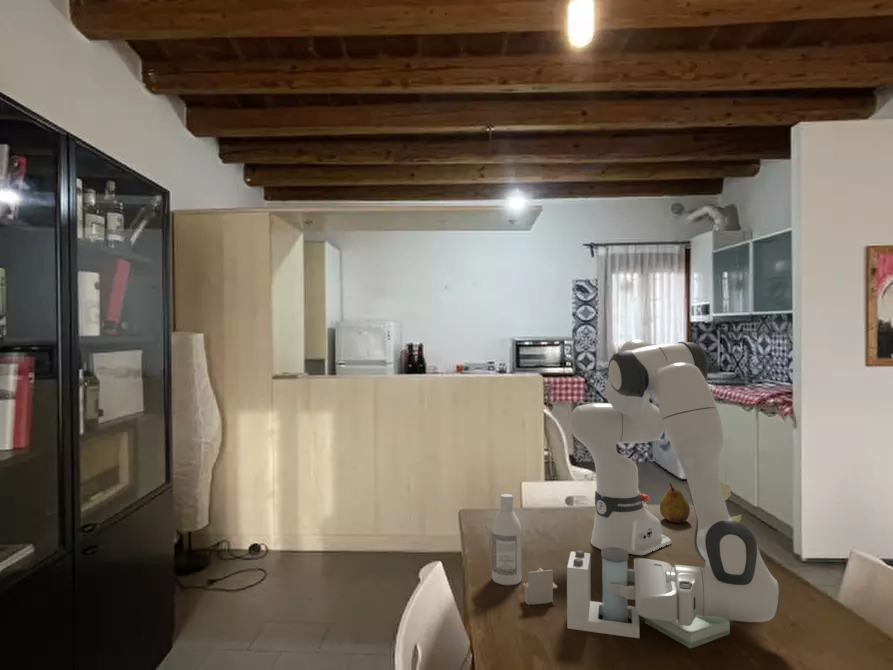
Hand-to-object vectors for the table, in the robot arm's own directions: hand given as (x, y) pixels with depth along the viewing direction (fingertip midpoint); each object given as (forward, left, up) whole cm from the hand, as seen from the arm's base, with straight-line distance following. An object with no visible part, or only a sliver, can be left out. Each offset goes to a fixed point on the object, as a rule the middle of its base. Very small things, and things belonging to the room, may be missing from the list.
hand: (610, 581), depth 118 cm
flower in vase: (-34, +2, -9) cm, 35 cm away
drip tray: (-12, +9, -8) cm, 17 cm away
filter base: (+1, -1, -8) cm, 9 cm away
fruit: (-65, -39, -9) cm, 76 cm away
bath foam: (+6, -27, -9) cm, 29 cm away
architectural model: (+7, -15, -9) cm, 18 cm away
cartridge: (-1, +1, -8) cm, 8 cm away
